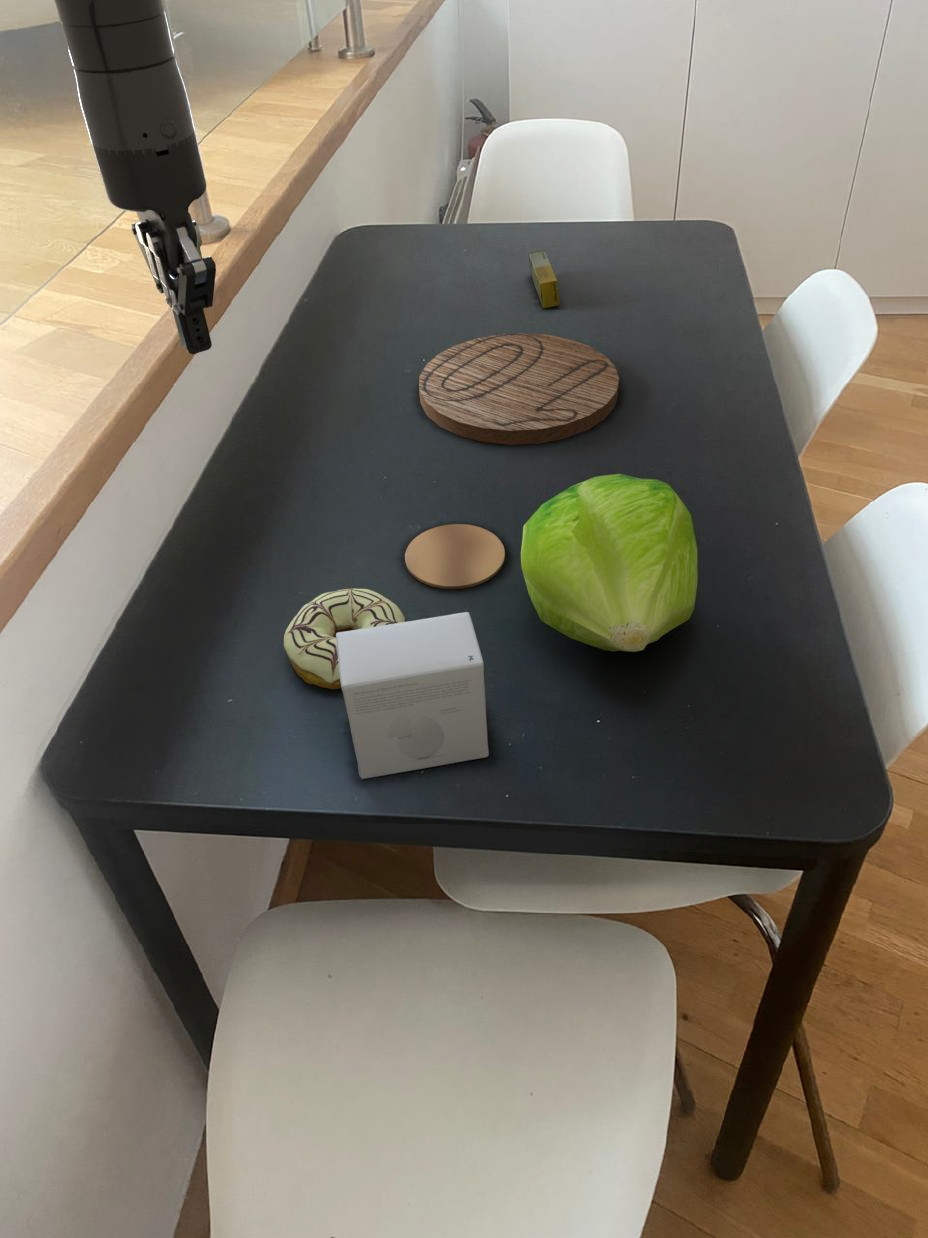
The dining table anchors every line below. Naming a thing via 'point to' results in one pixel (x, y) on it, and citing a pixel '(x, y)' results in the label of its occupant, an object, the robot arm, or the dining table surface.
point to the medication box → (544, 279)
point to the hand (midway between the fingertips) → (197, 348)
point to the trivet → (518, 388)
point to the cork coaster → (455, 556)
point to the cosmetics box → (414, 694)
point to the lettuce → (612, 562)
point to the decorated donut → (333, 631)
